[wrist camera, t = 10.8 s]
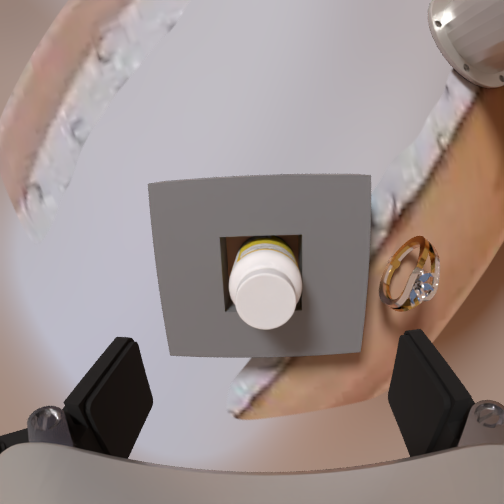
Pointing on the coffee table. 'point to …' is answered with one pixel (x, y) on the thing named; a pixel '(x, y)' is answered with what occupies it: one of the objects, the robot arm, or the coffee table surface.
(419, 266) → the ring
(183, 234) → the socket block
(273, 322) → the supplement bottle
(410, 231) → the coffee table surface
